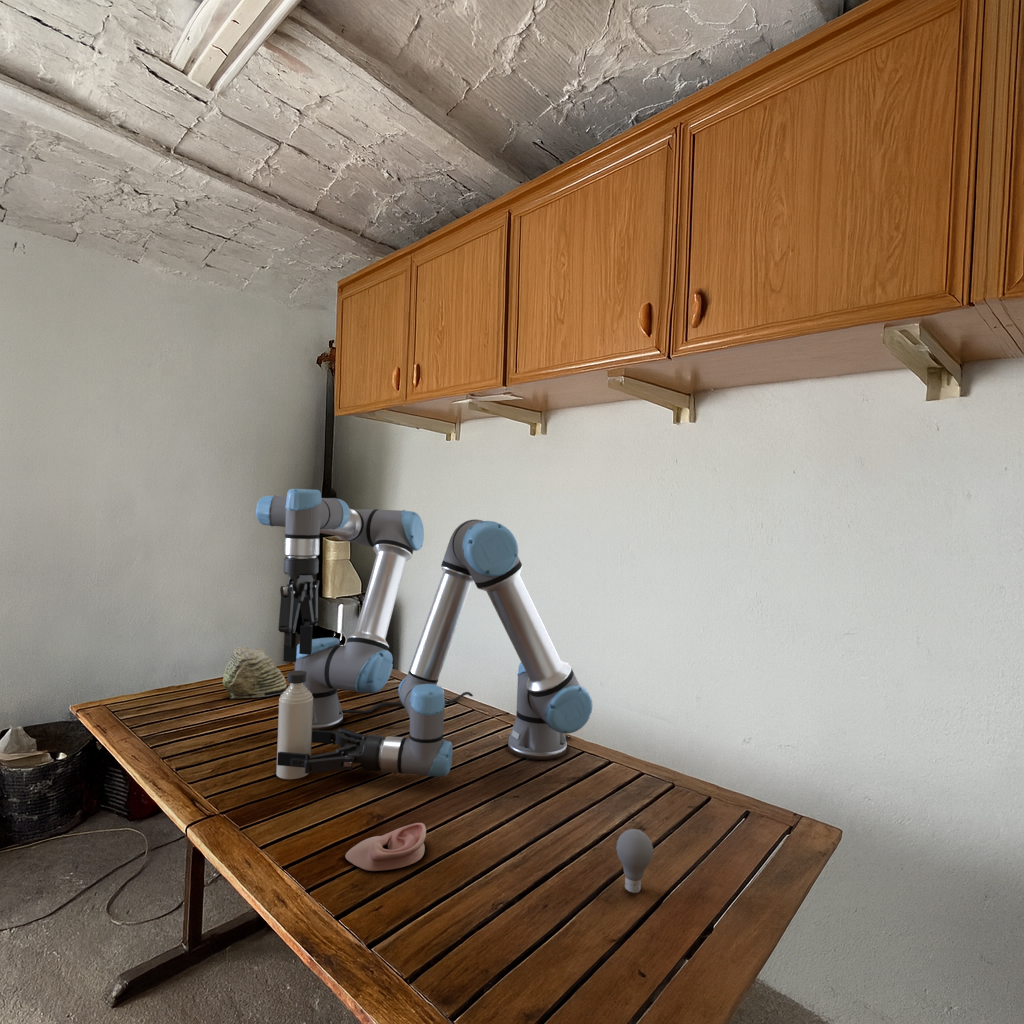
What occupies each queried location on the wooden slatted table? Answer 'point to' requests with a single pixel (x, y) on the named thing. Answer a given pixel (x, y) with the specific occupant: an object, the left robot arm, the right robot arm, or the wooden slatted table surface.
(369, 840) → the anatomical model
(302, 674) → the cap
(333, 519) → the left robot arm
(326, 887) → the wooden slatted table surface
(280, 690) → the fossil
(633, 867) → the light bulb
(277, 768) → the bottle
